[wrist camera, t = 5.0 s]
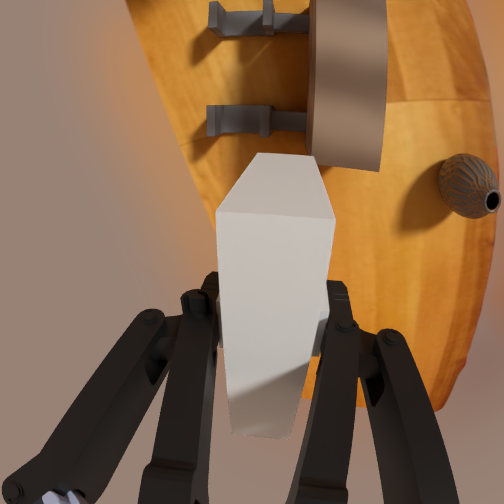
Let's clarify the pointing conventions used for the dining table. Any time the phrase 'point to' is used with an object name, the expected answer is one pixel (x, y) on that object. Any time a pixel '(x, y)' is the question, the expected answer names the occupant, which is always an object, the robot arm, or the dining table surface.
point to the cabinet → (320, 79)
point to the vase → (469, 186)
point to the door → (271, 287)
